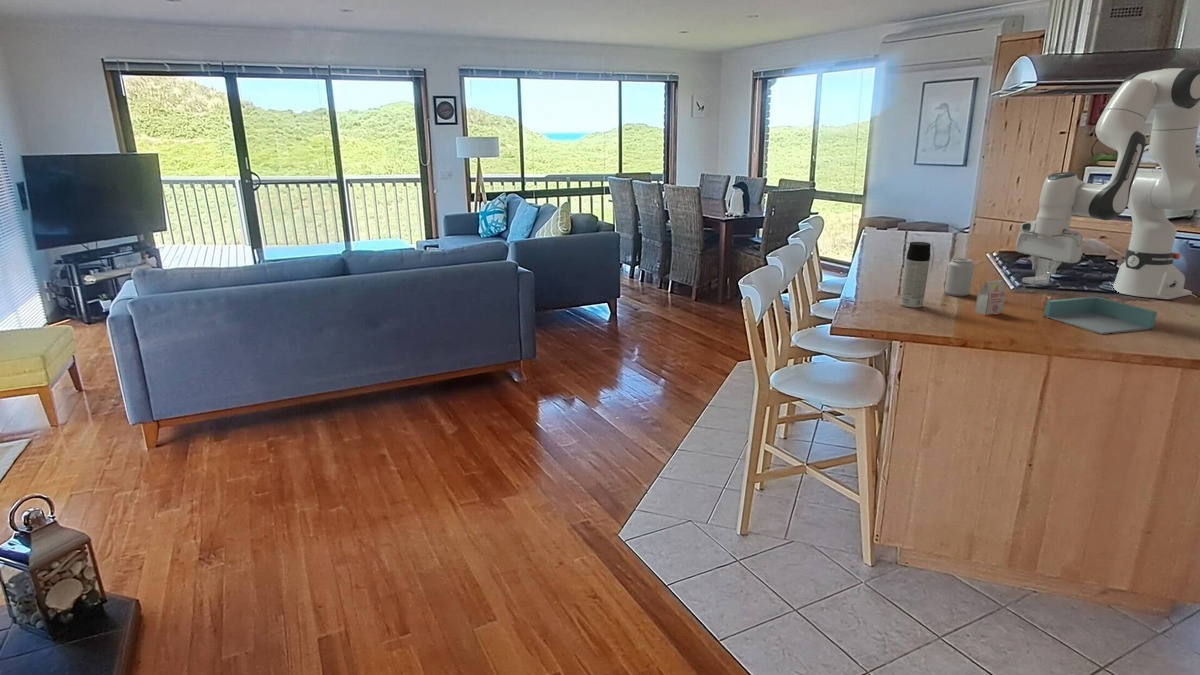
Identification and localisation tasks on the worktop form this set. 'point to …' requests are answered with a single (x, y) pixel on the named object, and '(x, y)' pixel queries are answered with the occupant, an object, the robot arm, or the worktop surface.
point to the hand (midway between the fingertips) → (1043, 271)
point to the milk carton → (990, 298)
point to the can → (959, 277)
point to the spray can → (915, 275)
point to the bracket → (1040, 272)
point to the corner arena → (1100, 315)
